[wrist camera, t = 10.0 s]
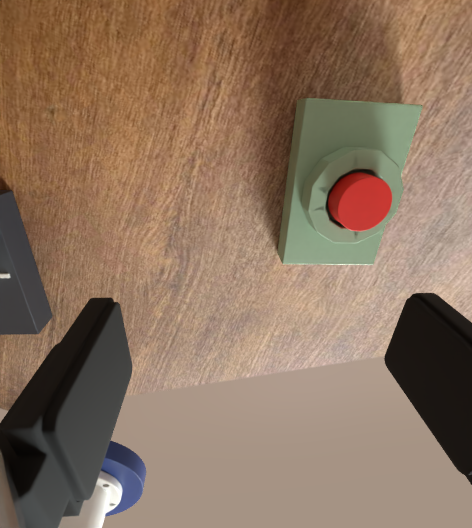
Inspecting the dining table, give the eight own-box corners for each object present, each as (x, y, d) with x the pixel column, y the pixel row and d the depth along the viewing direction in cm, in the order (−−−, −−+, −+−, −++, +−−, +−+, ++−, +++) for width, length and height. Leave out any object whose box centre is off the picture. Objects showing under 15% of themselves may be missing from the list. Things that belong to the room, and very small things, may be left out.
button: (370, 223, 20) (383, 232, 19) (323, 222, 20) (332, 231, 19) (384, 173, 19) (400, 177, 17) (333, 171, 19) (344, 175, 17)
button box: (361, 254, 26) (385, 275, 22) (277, 253, 25) (287, 275, 22) (403, 106, 20) (443, 103, 17) (296, 99, 20) (314, 95, 16)
